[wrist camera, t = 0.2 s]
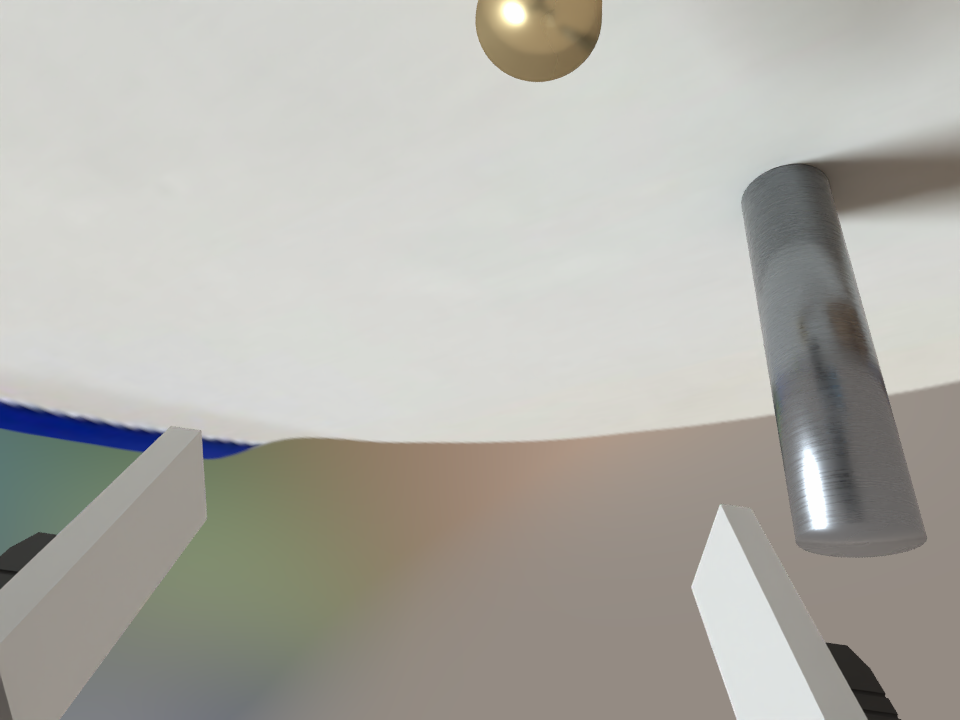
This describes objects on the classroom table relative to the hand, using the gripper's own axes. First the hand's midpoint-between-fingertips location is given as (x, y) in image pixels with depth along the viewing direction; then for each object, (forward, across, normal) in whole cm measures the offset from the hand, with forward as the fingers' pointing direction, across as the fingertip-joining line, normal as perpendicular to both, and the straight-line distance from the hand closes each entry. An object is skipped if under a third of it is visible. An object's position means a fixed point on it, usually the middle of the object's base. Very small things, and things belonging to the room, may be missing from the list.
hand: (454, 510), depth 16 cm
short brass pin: (+9, 0, +14) cm, 17 cm away
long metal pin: (+13, +11, +7) cm, 19 cm away
